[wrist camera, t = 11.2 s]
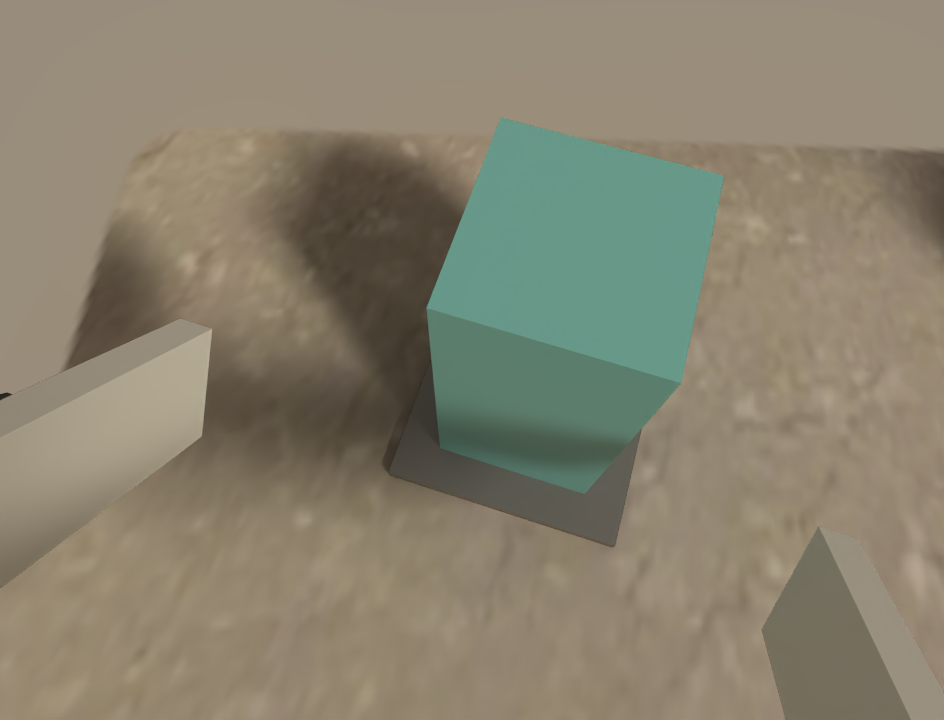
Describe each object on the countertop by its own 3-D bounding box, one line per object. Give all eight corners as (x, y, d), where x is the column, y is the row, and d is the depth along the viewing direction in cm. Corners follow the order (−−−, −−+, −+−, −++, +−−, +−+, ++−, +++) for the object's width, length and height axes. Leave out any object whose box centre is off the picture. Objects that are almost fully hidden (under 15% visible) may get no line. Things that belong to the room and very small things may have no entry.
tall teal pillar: (618, 360, 24) (724, 175, 15) (584, 494, 22) (681, 382, 13) (484, 321, 25) (500, 117, 15) (440, 448, 23) (426, 307, 13)
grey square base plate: (659, 342, 25) (733, 232, 18) (612, 547, 22) (681, 507, 15) (460, 284, 26) (461, 158, 19) (389, 475, 23) (360, 405, 16)
